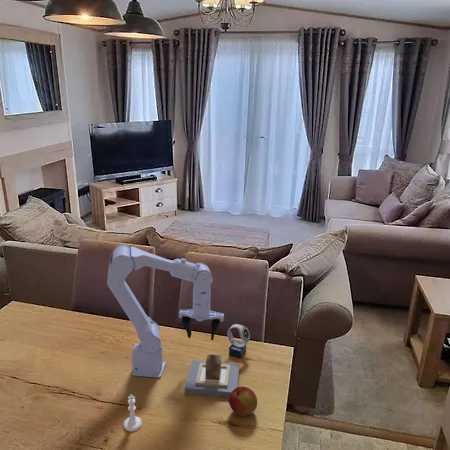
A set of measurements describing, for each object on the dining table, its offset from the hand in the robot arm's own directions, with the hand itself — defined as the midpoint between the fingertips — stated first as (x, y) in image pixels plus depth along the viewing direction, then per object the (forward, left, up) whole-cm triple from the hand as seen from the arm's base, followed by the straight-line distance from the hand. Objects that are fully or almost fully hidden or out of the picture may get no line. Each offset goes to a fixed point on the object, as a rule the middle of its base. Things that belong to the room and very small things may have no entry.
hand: (201, 337), depth 138 cm
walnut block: (+5, -8, -8) cm, 13 cm away
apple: (+15, -21, -11) cm, 28 cm away
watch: (+12, +8, -11) cm, 18 cm away
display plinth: (+5, -8, -10) cm, 14 cm away
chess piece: (-15, -29, -11) cm, 34 cm away
